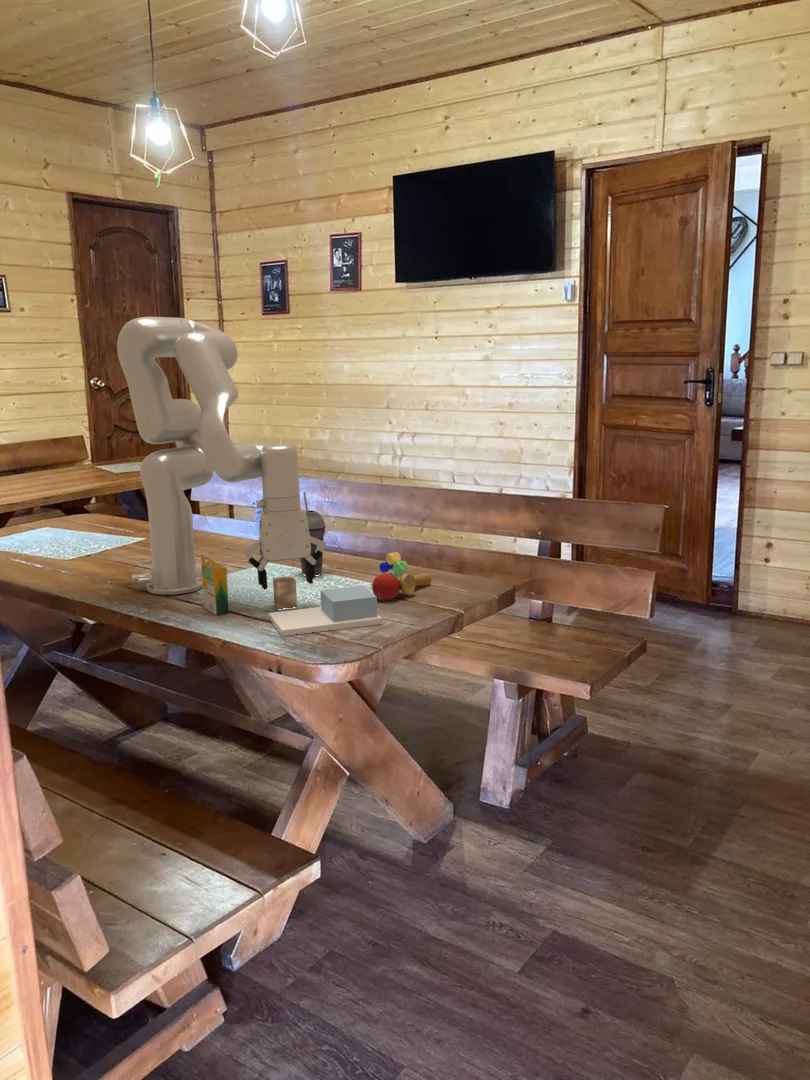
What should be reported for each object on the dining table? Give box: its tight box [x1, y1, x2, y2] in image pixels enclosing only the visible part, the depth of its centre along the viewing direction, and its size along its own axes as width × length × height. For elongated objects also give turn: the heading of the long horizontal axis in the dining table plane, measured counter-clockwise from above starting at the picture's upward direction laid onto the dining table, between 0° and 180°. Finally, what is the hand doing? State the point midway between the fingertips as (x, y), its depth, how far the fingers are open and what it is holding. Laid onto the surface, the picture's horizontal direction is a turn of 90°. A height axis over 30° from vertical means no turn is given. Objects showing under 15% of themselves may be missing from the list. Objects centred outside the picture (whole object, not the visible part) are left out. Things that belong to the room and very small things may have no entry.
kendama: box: [371, 572, 432, 602], centre depth 193 cm, size 8×6×18 cm
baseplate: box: [268, 585, 383, 637], centre depth 173 cm, size 20×12×5 cm, turn 111°
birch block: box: [272, 575, 298, 609], centre depth 184 cm, size 4×4×6 cm
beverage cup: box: [299, 491, 327, 575], centre depth 208 cm, size 7×7×20 cm
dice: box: [379, 551, 409, 578], centre depth 205 cm, size 8×3×6 cm, turn 41°
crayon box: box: [200, 553, 230, 616], centre depth 181 cm, size 7×3×12 cm, turn 33°
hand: (287, 585), depth 183 cm, fingers open, 9 cm apart
